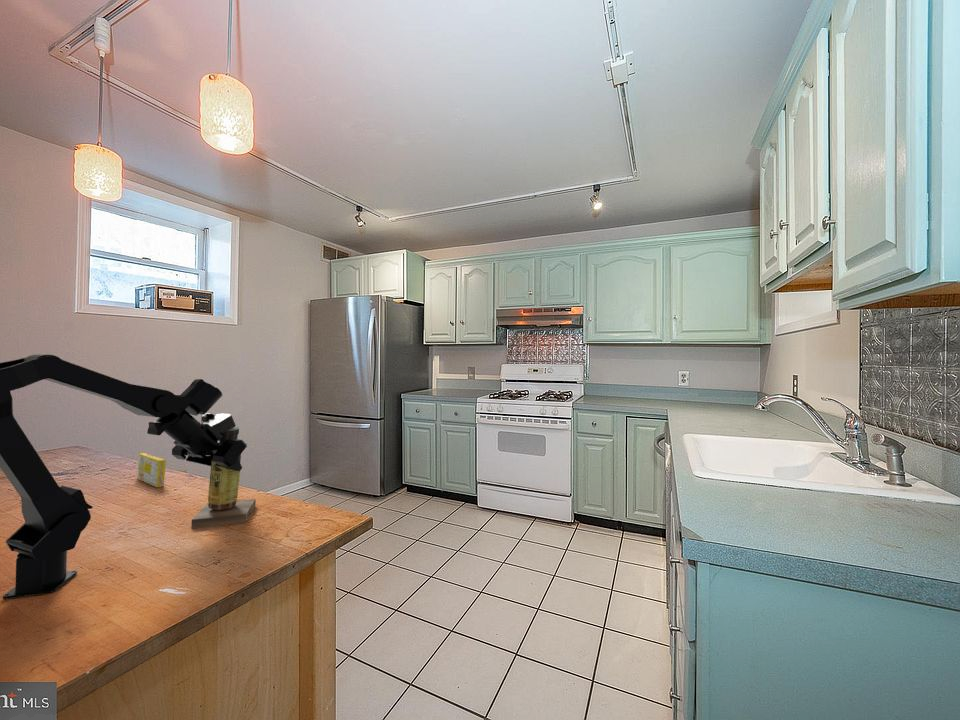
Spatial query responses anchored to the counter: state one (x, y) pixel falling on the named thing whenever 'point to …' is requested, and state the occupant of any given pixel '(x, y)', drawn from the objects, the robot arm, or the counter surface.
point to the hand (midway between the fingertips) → (231, 468)
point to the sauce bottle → (224, 480)
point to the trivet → (224, 514)
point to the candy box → (151, 469)
